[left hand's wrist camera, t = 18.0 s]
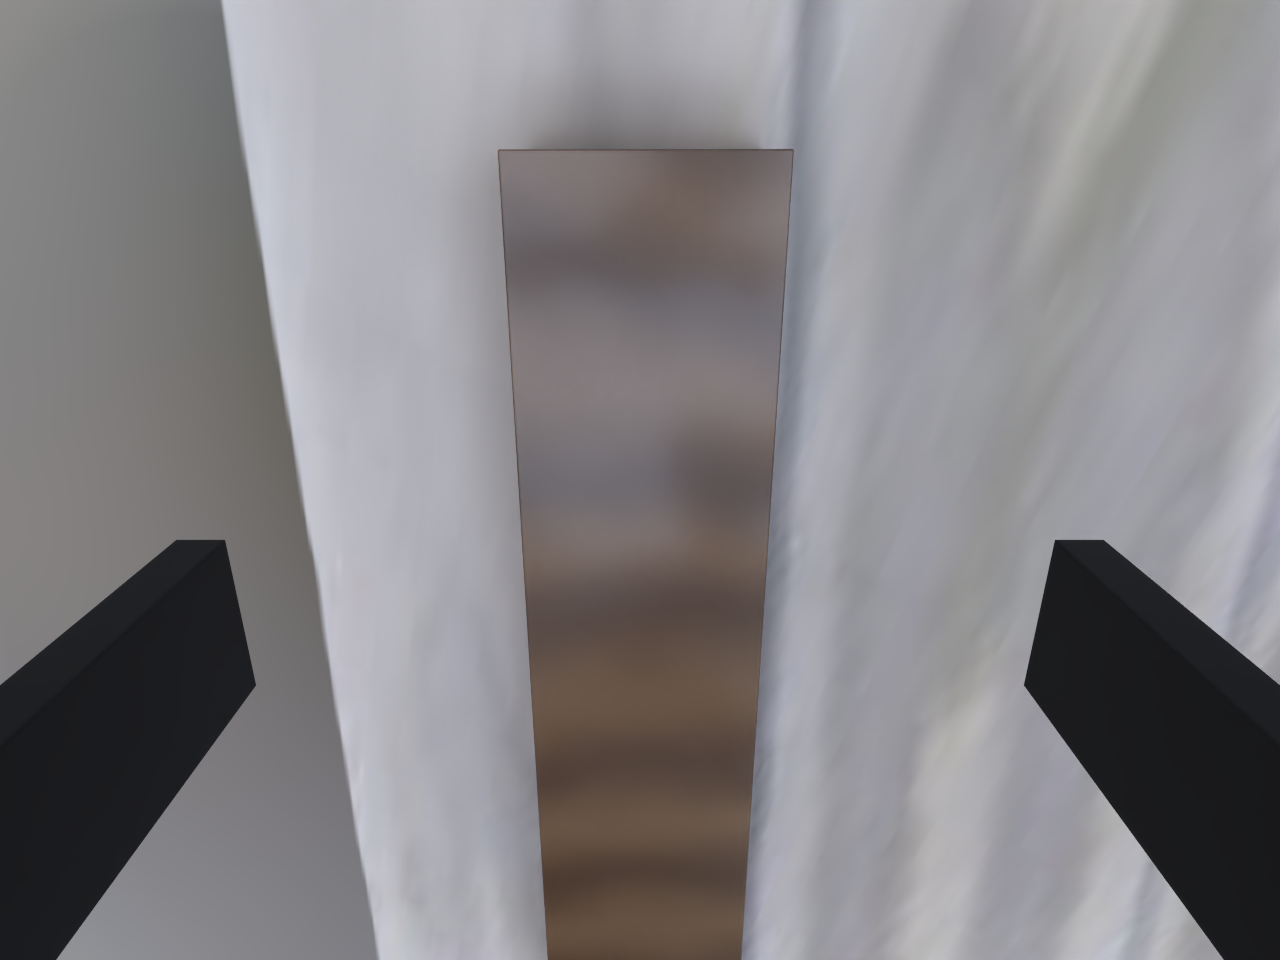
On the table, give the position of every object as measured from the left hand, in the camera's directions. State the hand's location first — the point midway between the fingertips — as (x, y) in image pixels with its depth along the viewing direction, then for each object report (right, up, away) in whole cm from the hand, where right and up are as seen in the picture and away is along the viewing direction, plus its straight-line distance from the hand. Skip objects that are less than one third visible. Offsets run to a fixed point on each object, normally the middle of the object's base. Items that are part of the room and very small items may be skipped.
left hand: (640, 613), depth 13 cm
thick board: (0, -9, +31) cm, 32 cm away
